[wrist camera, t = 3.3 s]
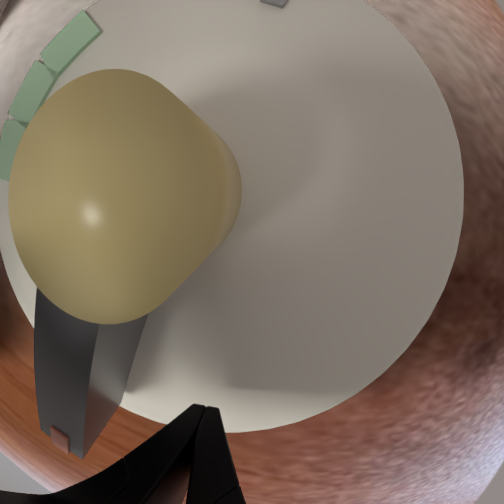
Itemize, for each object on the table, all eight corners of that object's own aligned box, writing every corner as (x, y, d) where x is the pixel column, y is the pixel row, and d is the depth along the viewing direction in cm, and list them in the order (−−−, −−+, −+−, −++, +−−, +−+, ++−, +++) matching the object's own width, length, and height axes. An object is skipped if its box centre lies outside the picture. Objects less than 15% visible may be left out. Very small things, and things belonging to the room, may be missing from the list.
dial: (293, 456, 12) (293, 477, 10) (-6, 288, 11) (-21, 295, 10) (493, 106, 7) (512, 101, 6) (117, -35, 7) (106, -48, 6)
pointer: (137, 100, 7) (54, 56, 3) (269, 152, 7) (262, 113, 4) (64, 364, 10) (11, 414, 6) (149, 417, 10) (112, 486, 6)
